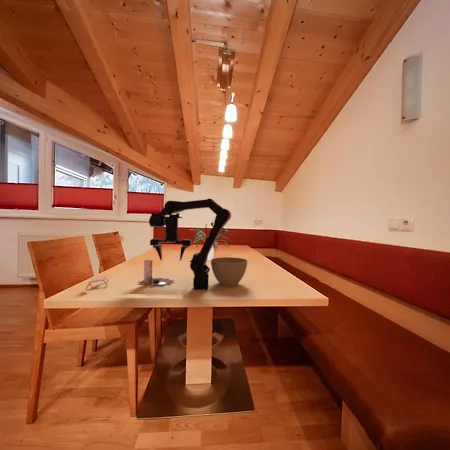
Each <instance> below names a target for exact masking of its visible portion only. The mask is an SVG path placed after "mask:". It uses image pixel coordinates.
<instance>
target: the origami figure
mask: <svg viewBox="0 0 450 450" xmlns="http://www.w3.org/2000/svg"><path fill="white" fill-rule="evenodd" d="M97 282H103V283H104V284H105V286H104V288H107V287H108V284H107V283H108V282H109V278H107V277H106V275H103V276H99V277H94V278H91V279H90V280H89V281H88V284H87V285H86V287H85V289H84V290H86V291H88V290H89V288H88V287H89V286H90V287H91V288H93V285H92V283H97Z"/></svg>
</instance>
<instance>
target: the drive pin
mask: <svg viewBox="0 0 450 450" xmlns="http://www.w3.org/2000/svg"><path fill="white" fill-rule="evenodd" d="M152 278H153V259H144V261H143V280H144V286H145V287H147V286H150V285H152Z"/></svg>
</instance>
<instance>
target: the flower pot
mask: <svg viewBox="0 0 450 450" xmlns="http://www.w3.org/2000/svg"><path fill="white" fill-rule="evenodd" d="M210 266H211V270H212V273H213V276H214V277H215V279H216V280H217V282H218V283H219V284H220V285H221V286H224V287H235V286H237V285H238V284H239V283H240V282H241V281H242V279H243V278H244V277H245V276H244V275H245V273H246V270H247V266H248V260H247V259H245V258H242V257H229V256H228V257H226V256H224V257H222V256H221V257H213V258H211V260H210Z"/></svg>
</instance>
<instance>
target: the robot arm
mask: <svg viewBox="0 0 450 450" xmlns="http://www.w3.org/2000/svg"><path fill="white" fill-rule="evenodd" d="M207 208H208V209H209V210H211V211H212V212H213V213H214V214H215V218H214V223H213V226H212V228H211V230H210V232H209V233H208V236H207V238H206V239H205V240H204V243H203V245H202V247H201V249H200V251H199V252H196V253H194V254H193V255H192V257H191V260H190V261H189V262H190V264H189V268H190V270H191V272H193V275H194V276H193V283H192V285H193V290H209V280H210V279H209V273H210V270H211V269H210V267H209V266H208V264H207V261H208V256H209V254H210V252H211V250H212V248H213V246H214V245H215V243H216V240H217V238H218V236H219V235H220V233H221V231H222V229H223V228H224V227H225V226H226V224H228V222H229V221H230V220H231V218H232V212H231V211H230V210H229V209H227V208H223V207H222V206H221V205H220V204H218V203H217V202H216V201H215V199H212V198H206V199H198V200H189V201H178V200H167V201H166V202H165V204H164V206H163V208H162V209H161V211H160V212H159V213H157V212H151V215H150V217H149V219H148V224H149V226H150V227H151V228H163V227H165V231H164V239H162V238H151V239H150V241H149V245H150V246H152V247H153V248H155V250H156V252H157V255H158V257H159V260H160V261H162V260H163V254H162V253H163V252H162V245H182V246H181V247H180V255H179V261H182V260H183V256H184V253H185V250H186V249H188V248H190V247H191V246H192V242H193V241H192V239H189V238H188V239H187V238H183V239H181V240H180V234H179V232H178V231H179V229H178V228H179V219H183V215H181V214H180V213H181V212H184V211H187V210H189V211H190V210H197V209H207Z"/></svg>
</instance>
